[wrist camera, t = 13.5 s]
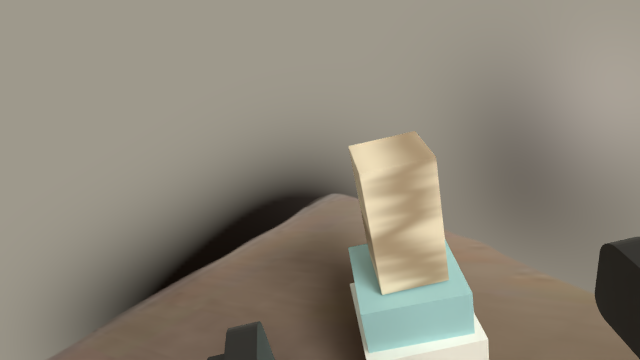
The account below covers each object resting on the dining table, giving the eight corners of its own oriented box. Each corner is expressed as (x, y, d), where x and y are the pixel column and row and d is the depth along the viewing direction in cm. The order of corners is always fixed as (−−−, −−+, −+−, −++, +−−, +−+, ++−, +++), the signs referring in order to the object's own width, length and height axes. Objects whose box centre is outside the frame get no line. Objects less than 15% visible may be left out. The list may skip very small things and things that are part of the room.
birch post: (382, 294, 34) (359, 174, 29) (369, 255, 38) (348, 146, 34) (449, 280, 34) (436, 157, 29) (428, 242, 38) (414, 131, 34)
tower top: (369, 353, 35) (360, 315, 33) (355, 282, 42) (348, 247, 40) (474, 333, 34) (472, 293, 32) (443, 265, 41) (439, 229, 39)
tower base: (375, 399, 36) (367, 365, 34) (356, 315, 44) (349, 283, 42) (489, 375, 36) (488, 339, 34) (450, 295, 43) (447, 262, 42)
